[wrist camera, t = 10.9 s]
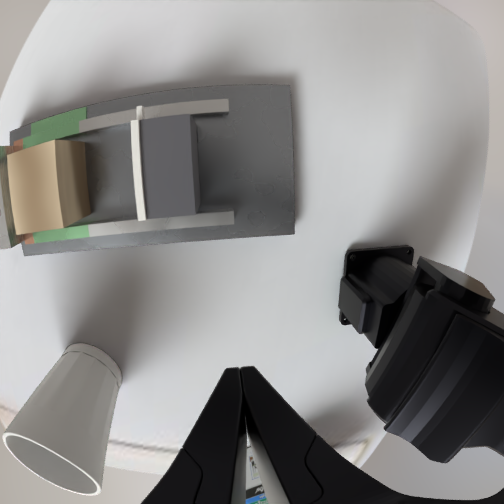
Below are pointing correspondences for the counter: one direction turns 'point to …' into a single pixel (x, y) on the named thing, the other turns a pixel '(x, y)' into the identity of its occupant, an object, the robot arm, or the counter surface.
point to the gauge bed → (209, 161)
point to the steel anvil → (6, 204)
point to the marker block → (48, 186)
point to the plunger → (165, 166)
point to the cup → (69, 421)
